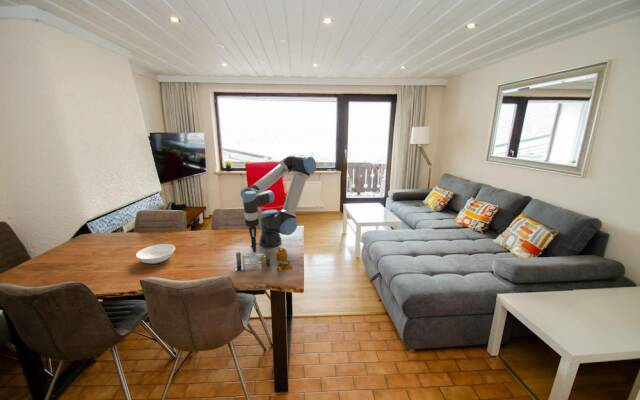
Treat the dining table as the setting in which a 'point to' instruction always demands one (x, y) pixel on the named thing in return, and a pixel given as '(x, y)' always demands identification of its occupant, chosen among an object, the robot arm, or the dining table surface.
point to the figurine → (282, 260)
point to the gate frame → (263, 262)
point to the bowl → (155, 253)
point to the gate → (250, 259)
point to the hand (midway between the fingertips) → (254, 255)
